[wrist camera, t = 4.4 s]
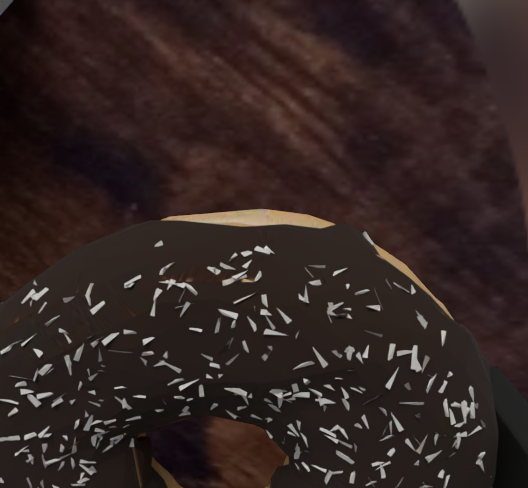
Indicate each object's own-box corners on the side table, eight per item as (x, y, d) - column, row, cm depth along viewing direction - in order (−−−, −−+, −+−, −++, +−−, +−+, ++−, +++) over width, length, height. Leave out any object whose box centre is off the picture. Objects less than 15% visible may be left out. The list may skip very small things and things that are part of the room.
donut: (-65, 319, 13) (-223, 403, 9) (357, 102, 11) (392, 89, 7) (147, 633, 15) (94, 815, 11) (535, 496, 13) (638, 656, 9)
